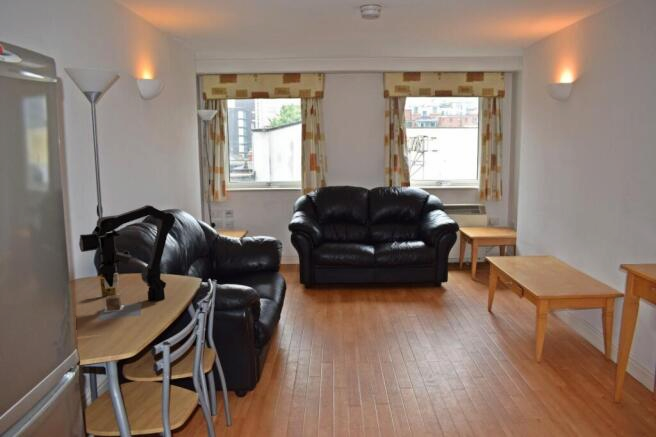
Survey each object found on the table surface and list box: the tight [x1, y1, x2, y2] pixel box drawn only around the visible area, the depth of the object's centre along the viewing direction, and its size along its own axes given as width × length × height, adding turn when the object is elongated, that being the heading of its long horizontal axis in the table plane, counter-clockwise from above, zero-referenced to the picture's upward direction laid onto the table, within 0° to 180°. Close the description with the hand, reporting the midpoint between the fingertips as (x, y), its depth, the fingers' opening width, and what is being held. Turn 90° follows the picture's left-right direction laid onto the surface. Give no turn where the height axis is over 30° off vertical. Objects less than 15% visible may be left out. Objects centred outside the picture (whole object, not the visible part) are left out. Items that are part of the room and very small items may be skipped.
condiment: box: [95, 274, 121, 299], centre depth 247 cm, size 7×8×12 cm
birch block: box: [104, 272, 120, 289], centre depth 224 cm, size 5×5×5 cm
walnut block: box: [105, 294, 122, 311], centre depth 225 cm, size 5×5×5 cm
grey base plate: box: [96, 302, 143, 322], centre depth 222 cm, size 16×18×1 cm
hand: (111, 285), depth 224 cm, fingers closed on birch block, 5 cm apart
